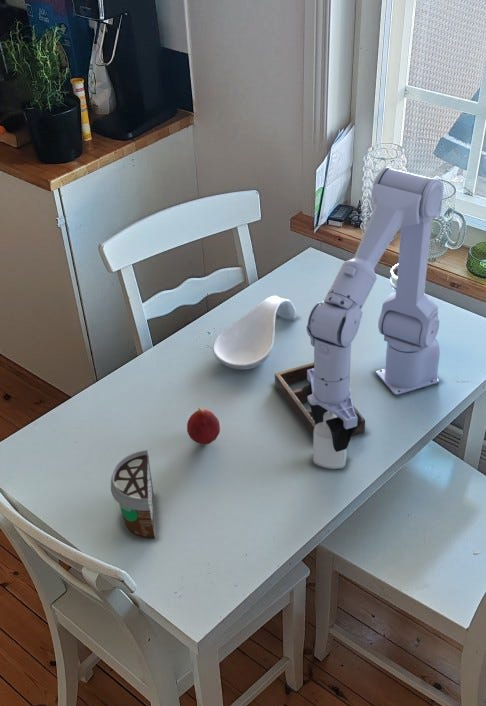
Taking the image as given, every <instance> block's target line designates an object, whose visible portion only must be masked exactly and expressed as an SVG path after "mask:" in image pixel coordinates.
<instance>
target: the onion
mask: <svg viewBox="0 0 486 706" xmlns="http://www.w3.org/2000/svg"><path fill="white" fill-rule="evenodd" d="M220 425H221V424H220V421H219V419H218V417H217V416H216V415H215V414H214V413H213V412H212V411H211V410H208V409H203V407H198V410H196V411H194V412H193V413H192V414H191V415H190V417H189V418H188V420H187V423H186V431H187V435H188V436H189V438H190V439H191V441H193V442H194V443H196V444H199V445H210V444H211V443H213V442H214V441H216V439H217V438H218V436H219V435H220V432H221V426H220Z"/></svg>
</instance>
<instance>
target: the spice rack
mask: <svg viewBox="0 0 486 706" xmlns="http://www.w3.org/2000/svg"><path fill="white" fill-rule="evenodd" d="M313 368H314V362H311V363H307V364H304V365H300V366H297V367H292V368H290V369H286V370H283V371H279V372H276V373H275V372H274V387H275V388H276V389H277V391H278V392H279V394H280V395H281V396H282V398H283V399H284V401H285V402H286V403H287V405H288V406H289V408H290V409H291V411H292V412H293V413H294V414H295V416H296V417H297V419H298V420H299V422H300V423H301V425H302V426H303V427H304V428H305V430H306V431H307V432H308V434H309V436H310V437H311V438H312V439H313V433H314V428H315V426H316V424H315V422H314V419H313V416H312V412H311V408H309V409H306V408H305V407H304V405H303V404H304V403H308V400H307V398H306V396H305V394H304V393H303V391H302V388H303V387H301V388H300V387H299V388H297V389H293V390H292V389H291V387H290V385H292V384H296V383H300V382H302V381H307V380H308V379H307V370H309V369H313ZM353 408H354V412H355V414H357V413H358V414H359V416H360V417H361V418H362V423H361V425H360V426H359V427H358V428H357V429H356V430H355V431H354V433H353V435H352V437H351V438H353V437H356V436H359V435H362V434H365V432H366V418H364V417H363V415H362V414H361V413H360V412H359V410H358V409H357V408H356V406H355V405H354V404H353Z"/></svg>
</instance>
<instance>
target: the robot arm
mask: <svg viewBox="0 0 486 706" xmlns="http://www.w3.org/2000/svg"><path fill="white" fill-rule="evenodd" d="M444 190H445V189H444V183H443V182H442V181H441V180H440V179H438V178H435V177H433V178H431V177H427V176H424V175H419V174H415V173H412V172H411V173H410V172H407V171H402V170H399V169H394V168H393V167H390V166H385V167H383V168H382V169H381V170H379V171H378V173H377V174H376V176H375V178H374V179H373V183H372V187H371V194H370V195H371V197H370V206H371V211H372V212H371V214H370V217H369V220H368V222H367V225H366V227H365V230H364V232H363V234H362V236H361V239H360V241H359V243H358V247H357V249H356V251H355V253H354V256H353V258H351V259H348V260H345V261H344V262H342V264H341V266H340V269H339V271H338V272H337V274H336V276H335V279H333V282H332V284H331V286H330V288H329V290H328V292H327V294H326V296H325V297H324V300H323V301H322V302H317V303H316V304H315V305H314V306H313V307H312V309H311V310H310V313H309V316H308V319H307V325H306V333H307V335H308V336H309V339H310V345H311V346H312V347H313V363H314V368H313V369H309V370H307V379H306V380H307V381H308V382H309V384H308V385H304V386H303V387H301V388H302V391H303V393H304V394H305V396H306V398H307V400H308V402H307V403H308V405H309V409H311V412H312V416H313V419H314V422H315V424H318V423H321V422H323V415H324V413H325V412H327V411H329V412H331V413H333V414H334V415H336V416H337V417H336V418H333V419H330V420H326V423H327V425H328V426H329V428H330V431H331V434H332V441H333V447H334V450H335V451H336V452H338V451H341V450H345V449H347V450H348V446H349V444H350V441H351V439H352V438H353V437H352V435H353V433H354V431H355V430H356V429H357V428H358V427H359V426H360V425H361V423H362V418H361V417H360V416H359V414H358V413H357V414H355V412H354V408H353V405H354V403H353V398H352V393H351V389H350V385H351V383H350V382H351V359H352V357H351V355H352V343H353V341H354V339H355V338H356V336H357V334H358V331H359V328H360V323H361V319H362V317H363V314H364V313H363V311H362V309H363V307H364V304H365V303H366V301H367V299H368V297H369V295H370V293H371V292H372V290H373V287H374V285H375V283H376V282H377V274H376V271H375V268H376V266H377V265H378V263H379V262H380V260H381V258H382V257H383V255H384V253H385V252H386V251H387V249H388V247H389V245H390V244H391V242H392V240H394V237H395V236H396V234H397V233H398V231H399V229H400V235H399V236H400V237H399V249H398V250H399V251H398V261H397V262H398V263H397V264H398V273H397V285H396V292H395V291H394V292H392V293H391V294H389V295H388V296H387V297H386V298H385V299H384V301H383V303H382V305H381V311H380V314H379V317H378V322H377V328H378V332H379V334H381V335H382V336H383V341H384V342H386V352H385V353H386V355H385V365H384V366H385V367H384V368H380V369H378V370H376V371H375V374H376V375H377V376H378V378H379V379H380V380H381V381H382V383H384V384H385V386H386V387H387V388H388V389H389V390H390V391H391V392H392V394H393V395H395V396H399V395H403V394H406V393H409V392H413V391H415V390H419V389H423V388H425V387H429V386H431V385H432V386H433V385H435V384H438V383H439V382H440V380H439V378H438V371H439V363H440V356H441V353H440V351H441V349H440V344H439V341H438V340H437V335H438V332H439V328H440V319H439V307H438V305H437V303H435V302H434V301H433V300H432V299H431V298H430V297H429V296H428V295H427V293H426V292H425V290H426V280H427V273H428V272H427V271H428V261H429V252H430V242H431V232H432V223H433V219H438V218H440V217H441V212H442V208H443V199H444Z"/></svg>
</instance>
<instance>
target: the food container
mask: <svg viewBox="0 0 486 706" xmlns="http://www.w3.org/2000/svg"><path fill="white" fill-rule="evenodd" d="M149 458H150V456H149V451H148V449H145V450H140V451H136V452H134V453H131V454H129V455H127V456H126V457H124V458H123V459H121V460H120V461H119V463H117V464H116V466H115V468H114V470H113V472H112V474H111V478H110V492H111V495H112V497H113V499H114V500H115V501H116V502H117V503H118V505H119V509H120V512H121V516H122V518H123V522H124V525H125V528H126V529H127V530H128V531H129V533H131V534H132V535H133V536H136V537H138V538H141V539H146V540H147V539H149V540H152V539H156V517H155V516H156V515H155V514H156V513H155V512H156V511H155V510H156V509H155V507H156V506H155V493H154V487H153V479H152V474H151V473H152V472H151V466H150V460H149Z"/></svg>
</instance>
